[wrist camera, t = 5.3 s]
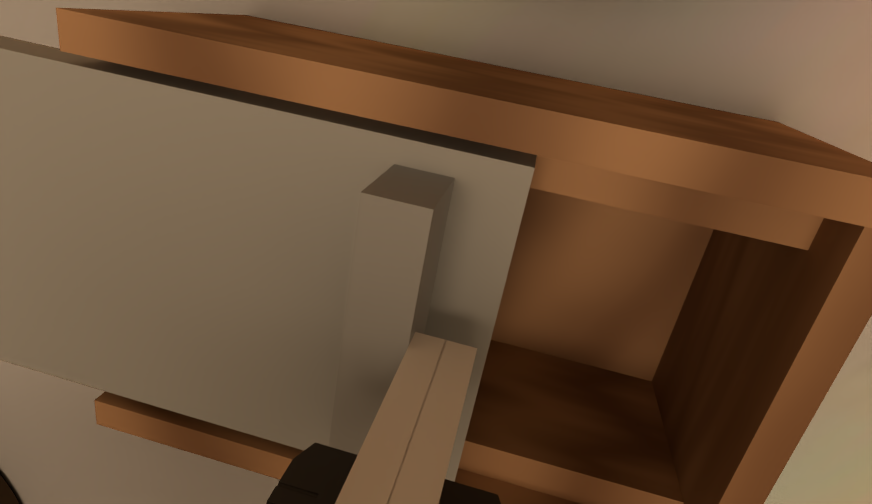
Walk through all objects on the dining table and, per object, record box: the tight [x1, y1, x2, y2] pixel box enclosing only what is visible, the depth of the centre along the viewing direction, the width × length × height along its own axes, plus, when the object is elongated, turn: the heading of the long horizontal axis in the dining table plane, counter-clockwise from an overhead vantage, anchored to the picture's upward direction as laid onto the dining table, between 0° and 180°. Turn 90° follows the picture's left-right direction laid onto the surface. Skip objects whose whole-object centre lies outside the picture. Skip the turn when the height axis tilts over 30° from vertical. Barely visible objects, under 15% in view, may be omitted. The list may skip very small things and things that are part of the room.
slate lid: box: [0, 36, 537, 482], centre depth 15 cm, size 16×10×4 cm, turn 80°
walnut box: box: [56, 8, 872, 504], centre depth 19 cm, size 20×13×9 cm, turn 80°
